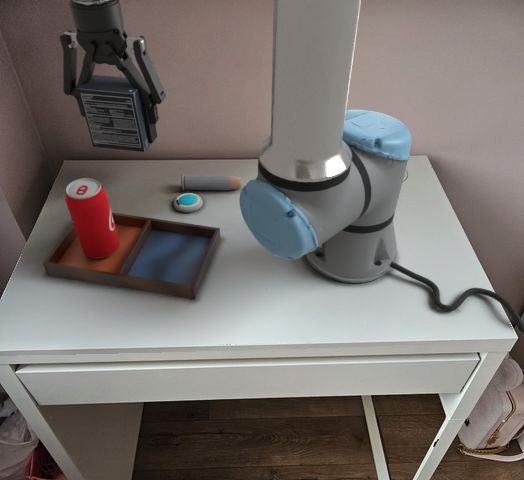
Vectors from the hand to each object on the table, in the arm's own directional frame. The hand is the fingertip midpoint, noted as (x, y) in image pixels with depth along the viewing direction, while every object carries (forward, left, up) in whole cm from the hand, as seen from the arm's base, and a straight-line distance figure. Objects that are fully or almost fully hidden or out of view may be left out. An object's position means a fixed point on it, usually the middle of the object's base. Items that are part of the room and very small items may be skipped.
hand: (124, 136), depth 95 cm
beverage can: (-3, +22, -9) cm, 23 cm away
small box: (0, 0, -1) cm, 1 cm away
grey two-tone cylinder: (-16, -2, -6) cm, 17 cm away
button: (-13, +5, -9) cm, 17 cm away
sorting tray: (-9, +22, -9) cm, 25 cm away
